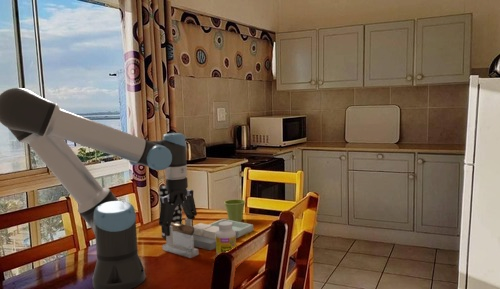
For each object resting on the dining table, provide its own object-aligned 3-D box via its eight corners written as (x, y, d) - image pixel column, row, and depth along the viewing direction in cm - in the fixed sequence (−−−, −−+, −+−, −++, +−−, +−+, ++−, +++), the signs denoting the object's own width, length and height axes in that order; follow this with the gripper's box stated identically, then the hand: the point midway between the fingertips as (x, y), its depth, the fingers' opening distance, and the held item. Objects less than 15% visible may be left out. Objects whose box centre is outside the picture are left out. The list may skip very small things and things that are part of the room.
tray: (238, 237, 161) (237, 231, 161) (207, 230, 171) (207, 224, 170) (253, 230, 169) (253, 224, 169) (223, 224, 178) (223, 218, 178)
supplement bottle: (218, 265, 134) (217, 227, 133) (215, 258, 141) (213, 221, 139) (238, 262, 136) (237, 224, 135) (234, 255, 143) (232, 219, 141)
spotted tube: (185, 232, 170) (182, 184, 167) (179, 239, 161) (177, 188, 159) (165, 232, 170) (162, 184, 168) (159, 239, 162) (156, 189, 160)
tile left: (201, 235, 157) (201, 229, 156) (190, 233, 160) (189, 227, 160) (212, 231, 161) (211, 225, 161) (200, 229, 165) (200, 223, 165)
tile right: (215, 239, 152) (215, 232, 152) (203, 236, 156) (203, 229, 156) (225, 234, 157) (225, 228, 157) (213, 232, 161) (213, 225, 161)
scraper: (190, 258, 142) (188, 228, 141) (162, 250, 150) (161, 222, 149) (198, 254, 145) (197, 225, 144) (171, 247, 153) (169, 219, 152)
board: (210, 250, 148) (210, 243, 148) (179, 242, 158) (178, 235, 158) (238, 237, 161) (237, 231, 161) (207, 230, 171) (207, 224, 170)
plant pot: (221, 219, 186) (220, 200, 185) (240, 216, 190) (240, 198, 189) (229, 225, 177) (228, 205, 176) (249, 221, 181) (248, 202, 180)
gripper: (159, 184, 134) (163, 251, 136) (205, 173, 151) (208, 233, 153) (144, 182, 138) (148, 247, 141) (190, 171, 155) (193, 230, 158)
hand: (179, 240), depth 147 cm, fingers open, 9 cm apart
